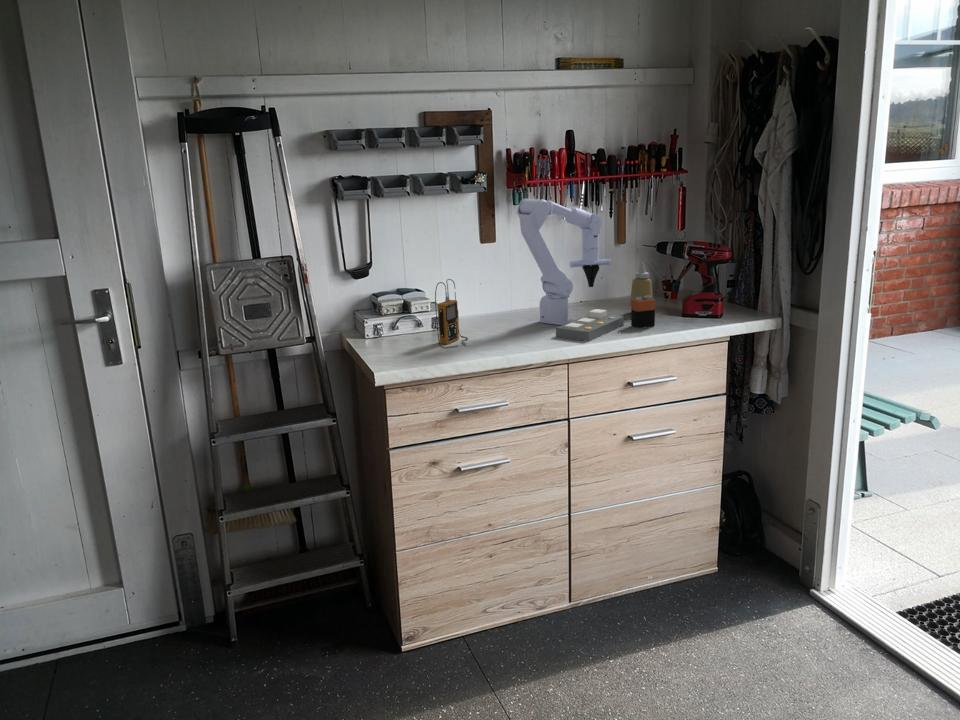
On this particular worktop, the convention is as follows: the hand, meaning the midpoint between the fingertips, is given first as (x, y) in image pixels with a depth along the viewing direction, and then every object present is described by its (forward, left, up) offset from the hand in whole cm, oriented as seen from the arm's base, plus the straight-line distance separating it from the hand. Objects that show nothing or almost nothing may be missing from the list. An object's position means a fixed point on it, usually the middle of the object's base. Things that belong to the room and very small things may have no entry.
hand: (590, 286), depth 275 cm
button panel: (+11, -20, -10) cm, 25 cm away
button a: (+9, -28, -10) cm, 31 cm away
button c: (+9, -12, -8) cm, 18 cm away
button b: (+9, -20, -10) cm, 24 cm away
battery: (+23, -6, -11) cm, 26 cm away
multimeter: (-18, -53, -11) cm, 57 cm away
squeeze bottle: (+14, +12, -11) cm, 21 cm away
